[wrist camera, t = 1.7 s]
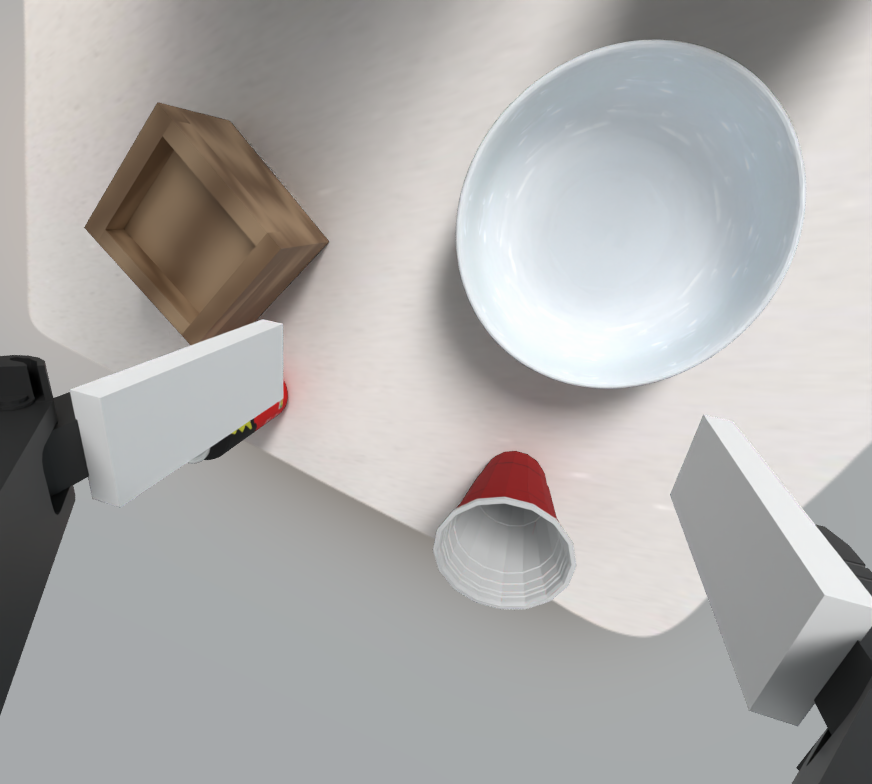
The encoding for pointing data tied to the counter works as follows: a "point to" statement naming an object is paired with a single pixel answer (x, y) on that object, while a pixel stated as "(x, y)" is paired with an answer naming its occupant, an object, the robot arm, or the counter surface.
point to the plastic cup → (506, 538)
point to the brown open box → (202, 224)
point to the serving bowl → (630, 213)
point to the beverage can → (243, 431)
